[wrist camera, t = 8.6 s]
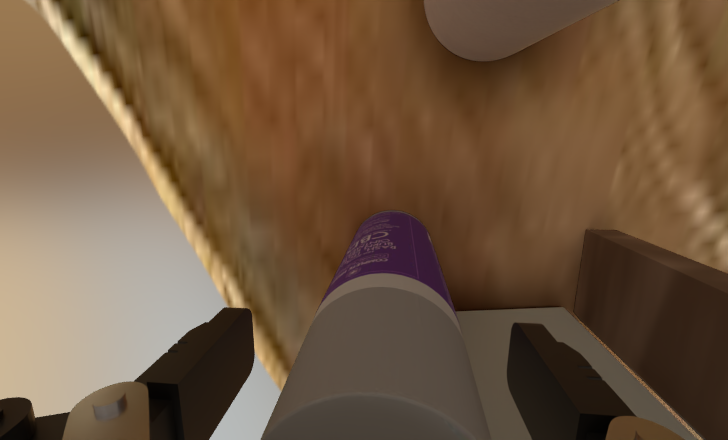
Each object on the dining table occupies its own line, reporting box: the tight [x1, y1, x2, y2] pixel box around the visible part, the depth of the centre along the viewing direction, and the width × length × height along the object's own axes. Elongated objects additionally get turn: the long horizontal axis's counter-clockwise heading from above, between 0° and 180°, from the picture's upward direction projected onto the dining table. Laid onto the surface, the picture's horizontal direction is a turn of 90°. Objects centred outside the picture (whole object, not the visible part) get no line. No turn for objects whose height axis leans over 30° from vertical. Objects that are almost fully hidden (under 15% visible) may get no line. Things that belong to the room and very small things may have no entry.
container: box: [261, 210, 492, 440], centre depth 13 cm, size 5×5×15 cm
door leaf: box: [456, 307, 698, 440], centre depth 15 cm, size 10×1×11 cm, turn 96°
